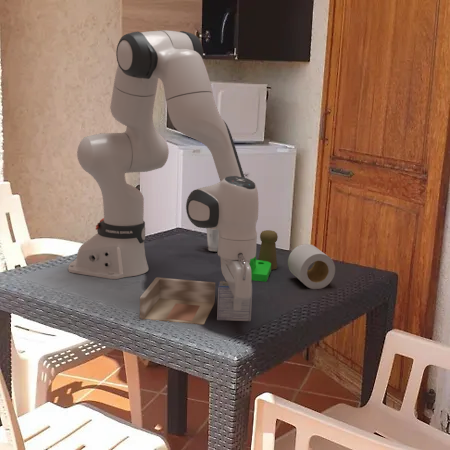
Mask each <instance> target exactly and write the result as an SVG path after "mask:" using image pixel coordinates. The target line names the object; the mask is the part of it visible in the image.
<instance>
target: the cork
mask: <svg viewBox="0 0 450 450" xmlns="http://www.w3.org/2000/svg"><path fill="white" fill-rule="evenodd" d="M278 237H279V236H278V233H277V232H276V231H274V230H270V229H269V230H262V231H261V232H260V234H259V239H260V241H261V243H260V247H259V249H260V250H259V253H258V258H257V260H262V261H268V262H270V263H271V271H272V270H276V269H277V268H278V262H277V261H278V259H277V247H276V242H277V241H278V239H279V238H278Z"/></svg>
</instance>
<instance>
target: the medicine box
mask: <svg viewBox="0 0 450 450" xmlns="http://www.w3.org/2000/svg"><path fill="white" fill-rule="evenodd" d="M252 297H253V282H251V297H250V299H249V300H242V303H241V310H240V311H235V310H234V309H233V299H234V296H233V294H232V292H231V290H230V288H229V286H228V284H227V282H226V280H225V281H224V280H220V281H218V287H217V313H216V314H217V317H216V320H217V321H232V322H233V321H237V322H238V321H239V322H251V319H252V299H253V298H252Z"/></svg>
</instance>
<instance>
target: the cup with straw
mask: <svg viewBox="0 0 450 450" xmlns="http://www.w3.org/2000/svg"><path fill="white" fill-rule="evenodd" d="M205 229H206V239H207V247H208V248H207V250H208V251H210V252H218V234H219V231H218V229H217V228H205Z"/></svg>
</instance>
